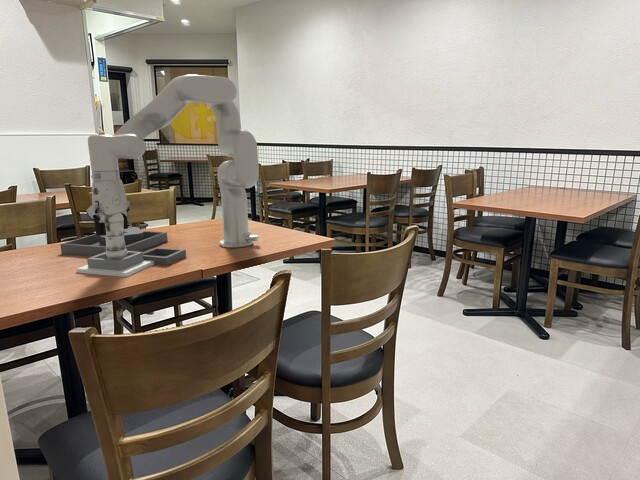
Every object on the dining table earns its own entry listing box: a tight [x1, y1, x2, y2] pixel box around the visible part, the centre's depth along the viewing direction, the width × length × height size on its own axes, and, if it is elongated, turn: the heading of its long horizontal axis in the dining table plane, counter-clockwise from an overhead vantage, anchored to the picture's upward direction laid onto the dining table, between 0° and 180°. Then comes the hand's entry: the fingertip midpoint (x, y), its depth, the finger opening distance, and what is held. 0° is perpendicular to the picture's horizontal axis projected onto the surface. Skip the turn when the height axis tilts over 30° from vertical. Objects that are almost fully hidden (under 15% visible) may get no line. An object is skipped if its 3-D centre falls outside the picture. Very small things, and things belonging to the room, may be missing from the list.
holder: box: [142, 246, 187, 266], centre depth 150 cm, size 12×11×2 cm
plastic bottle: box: [103, 213, 128, 260], centre depth 139 cm, size 6×7×20 cm
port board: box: [76, 251, 155, 278], centre depth 141 cm, size 18×14×4 cm
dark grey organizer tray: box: [59, 230, 169, 257], centre depth 167 cm, size 26×26×4 cm
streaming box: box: [98, 226, 144, 246], centre depth 168 cm, size 14×14×5 cm
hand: (112, 231), depth 138 cm, fingers open, 9 cm apart
